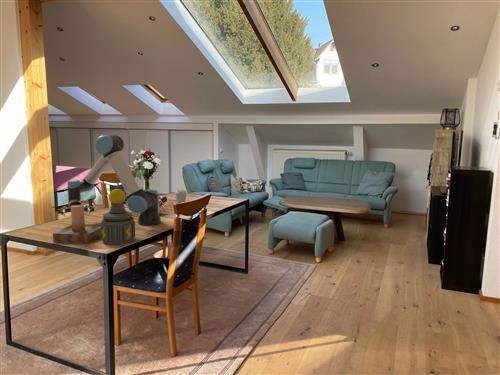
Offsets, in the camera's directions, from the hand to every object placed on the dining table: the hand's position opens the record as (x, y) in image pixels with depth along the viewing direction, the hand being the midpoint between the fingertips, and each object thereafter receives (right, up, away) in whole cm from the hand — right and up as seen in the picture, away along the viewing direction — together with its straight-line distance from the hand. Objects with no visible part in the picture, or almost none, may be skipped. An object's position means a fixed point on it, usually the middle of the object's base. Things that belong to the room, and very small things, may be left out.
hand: (76, 213), depth 223 cm
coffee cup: (+46, -2, +84) cm, 96 cm away
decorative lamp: (+27, -15, -6) cm, 31 cm away
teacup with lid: (+28, -5, +64) cm, 70 cm away
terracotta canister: (+3, -9, -4) cm, 11 cm away
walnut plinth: (+3, -14, -4) cm, 15 cm away
